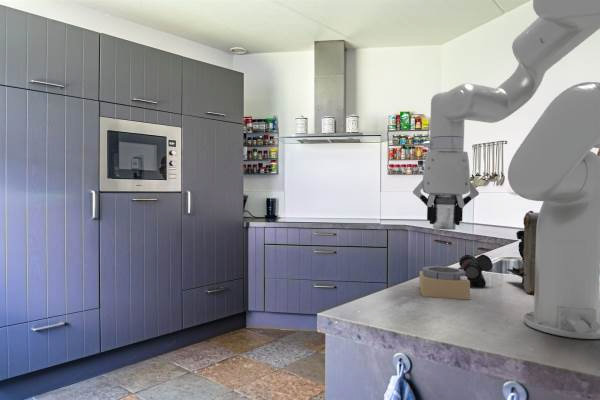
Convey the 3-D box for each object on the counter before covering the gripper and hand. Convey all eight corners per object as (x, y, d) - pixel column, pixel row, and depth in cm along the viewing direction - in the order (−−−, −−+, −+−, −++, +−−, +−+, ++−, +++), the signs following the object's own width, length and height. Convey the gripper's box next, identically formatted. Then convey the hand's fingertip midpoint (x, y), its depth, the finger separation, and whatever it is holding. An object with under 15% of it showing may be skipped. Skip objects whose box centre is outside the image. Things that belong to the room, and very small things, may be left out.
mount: (469, 299, 92) (470, 274, 92) (422, 296, 94) (423, 272, 94) (461, 289, 102) (462, 267, 102) (419, 287, 104) (419, 265, 104)
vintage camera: (541, 285, 112) (540, 211, 113) (572, 296, 97) (572, 211, 98) (503, 284, 113) (503, 211, 114) (529, 295, 98) (528, 210, 99)
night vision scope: (466, 284, 121) (496, 264, 118) (469, 299, 104) (504, 276, 101) (448, 262, 122) (477, 242, 120) (448, 273, 106) (482, 250, 103)
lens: (457, 230, 95) (458, 194, 95) (433, 229, 96) (434, 194, 96) (453, 228, 100) (454, 194, 100) (431, 227, 101) (432, 194, 101)
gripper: (409, 144, 96) (407, 223, 96) (489, 144, 92) (486, 226, 93) (407, 148, 103) (405, 221, 103) (481, 148, 100) (479, 224, 100)
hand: (444, 223), depth 98 cm, fingers closed on lens, 5 cm apart
